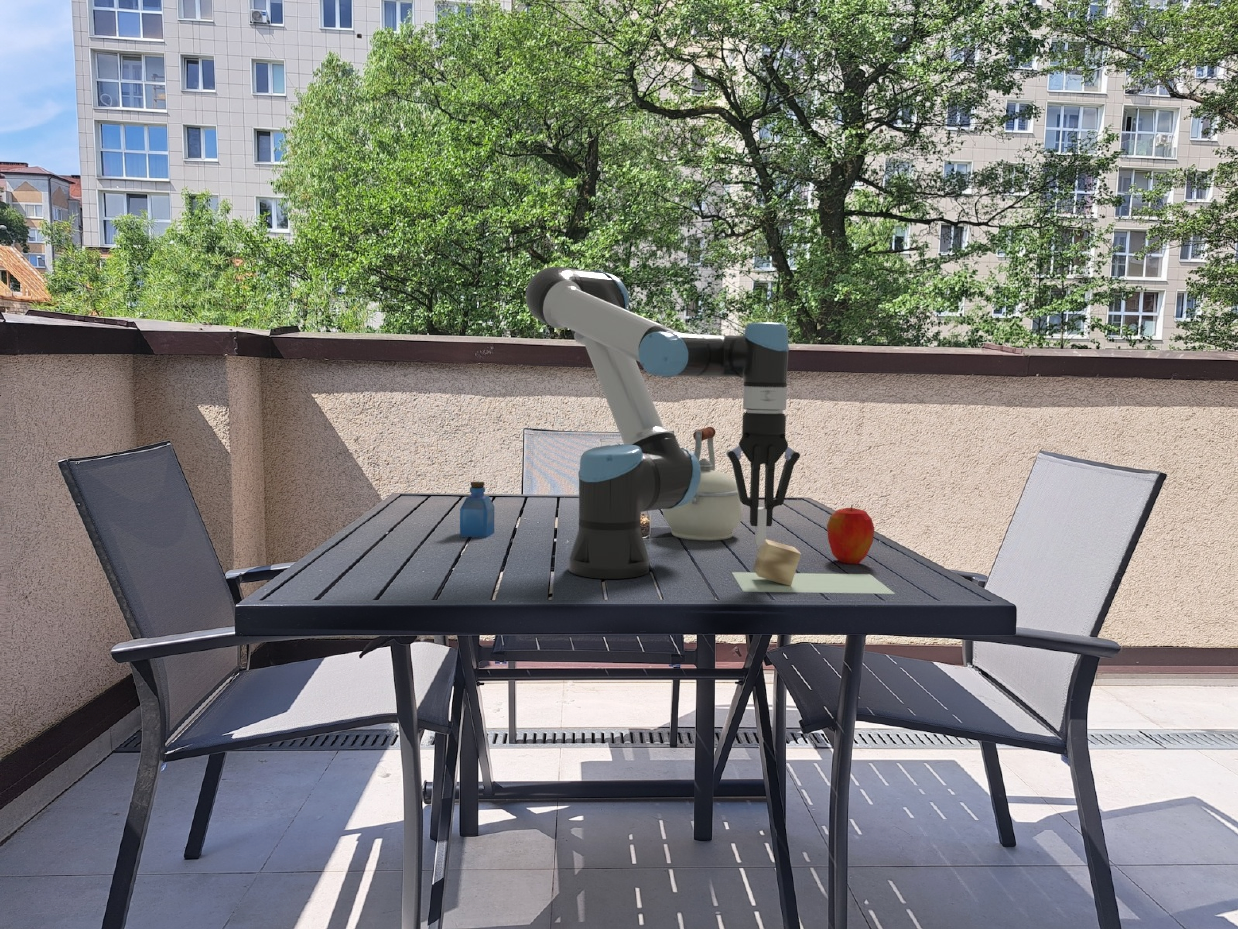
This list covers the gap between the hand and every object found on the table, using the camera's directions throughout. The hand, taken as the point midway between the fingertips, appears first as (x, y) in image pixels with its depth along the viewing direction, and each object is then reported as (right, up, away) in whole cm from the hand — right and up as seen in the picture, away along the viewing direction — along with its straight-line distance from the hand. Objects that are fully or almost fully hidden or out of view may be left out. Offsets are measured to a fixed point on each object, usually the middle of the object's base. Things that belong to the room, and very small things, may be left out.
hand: (760, 544), depth 162 cm
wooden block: (+2, -6, +1) cm, 6 cm away
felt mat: (+9, -7, +1) cm, 12 cm away
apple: (+21, -6, +20) cm, 29 cm away
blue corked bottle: (-57, -2, +45) cm, 73 cm away
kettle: (-5, -2, +51) cm, 51 cm away
